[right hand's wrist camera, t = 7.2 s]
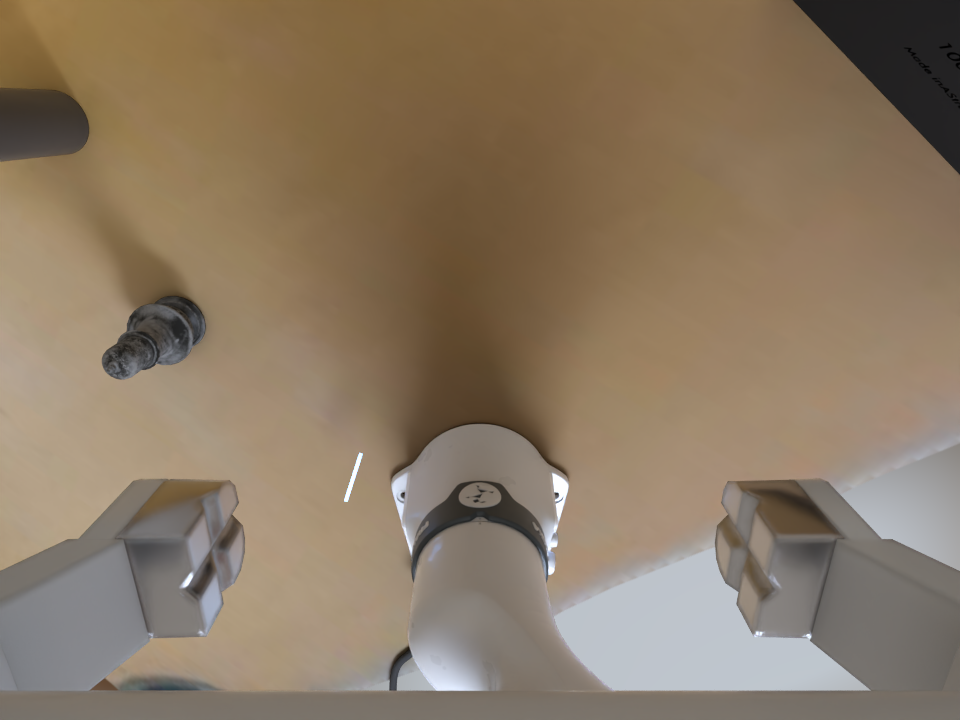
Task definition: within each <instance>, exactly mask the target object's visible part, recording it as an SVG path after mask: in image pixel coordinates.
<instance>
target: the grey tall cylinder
mask: <svg viewBox="0 0 960 720" xmlns="http://www.w3.org/2000/svg"><path fill="white" fill-rule="evenodd" d="M88 134H89V126H88V121H87V118H86V115H85V113H84V111H83V110H82V108H81V107H80V106H79V104H78V103H77V102H76V101H75V100H74V99H72V98H71V97H70V96H68V95H66V94H64V93H62V92H59V91H55V90H38V89H16V88H0V162H1V161H10V160H20V159H29V158H38V157H47V156H56V155H66V154H72V153H75V152H77V151H79V150H80V149H81V148H82V147H83V146H84V145H85V143H86V141H87V139H88Z"/></svg>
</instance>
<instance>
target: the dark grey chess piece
mask: <svg viewBox="0 0 960 720" xmlns="http://www.w3.org/2000/svg"><path fill="white" fill-rule="evenodd" d="M204 333H205V321H204V317H203V315H202V313H201V312H200V310H199V309H198V308H197V307H196V306H195V305H194V304H193V303H192V302H190V301H188V300H186V299H184V298H181V297H177V296H168V297H164V298H161V299H160V300H158V301H157V302H155V304H147V305H144V306H141V307H139V308H138V309H136V310H135V311H134V312H133V313H132V314H131V316H130V317H129V320H128V323H127V332H125V333H124V334H122V335H121V336H120V338H119V339H118V342H117V344H115V345H114V346H112V347H111V348H109V349H108V350H107V351H106V352H105V353H104V355H103V357H102V365H103V368H104V370H105V371H106V372H107V374H109V375H110V376H111V377H114V378H116V379H127V378H131V377H132V376H134V375H135V374H137V373H138V372H139V371H140V370H146V369H150V368H152V367H153V366H155V365H156V364H160V365H172V364H175V363H179V362H180V361H182V360H183V359H185V358H186V357H187V355H188V354H189V353H190V351H191V349H192V347H193V346H194V345H196V344H198V343H199V342H200V340H201V339H202V338H203V336H204Z"/></svg>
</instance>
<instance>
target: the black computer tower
mask: <svg viewBox="0 0 960 720" xmlns="http://www.w3.org/2000/svg"><path fill="white" fill-rule="evenodd" d="M793 1H794V2H795V3H796V4H797V5H798V6H799V7H800V8H801V9H802V10H803V11H804V12H805V13H806V14H807V15H808V16H809V17H810V18H811V19H812V20H813V21H814V23H815V24H816V25H817V26H818V27H819V28H820V29H821V30H822V31H823V32H824V33H825V34H826V35H827V36H828V37H829V38H830V39H831V40H832V41H833V42H834V43H835V44H836V46H837V47H838V48H839V49H840V50H841V51H842V52H843V53H844V54H845V55H846V56H847V57H848V58H849V59H850V60H851V61H852V62H853V63H854V64H855V65H856V66H857V67H858V68H859V70H860V71H861V72H862V73H863V74H864V75H865V76H866V77H867V78H868V79H869V80H870V81H871V82H872V83H873V84H874V85H875V86H876V87H877V88H878V89H879V90H880V91H881V93H882V94H883V95H884V96H885V97H886V98H887V99H888V100H889V101H890V102H891V103H892V104H893V105H894V106H895V107H896V108H897V109H898V110H899V111H900V112H901V113H902V114H903V115H904V117H905V118H906V119H907V120H908V121H909V122H910V123H911V124H912V125H913V126H914V127H915V128H916V129H917V130H918V131H919V132H920V133H921V134H922V135H923V136H924V137H925V138H926V140H927V141H928V142H929V143H930V144H931V145H932V146H933V147H934V148H935V149H936V150H937V151H938V152H939V153H940V154H941V155H942V156H943V157H944V158H945V159H946V160H947V161H948V162H949V164H950V165H951V166H952V167H953V168H954V169H955V170H956V171H957V172H958V173H959V174H960V0H793Z"/></svg>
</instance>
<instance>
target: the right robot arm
mask: <svg viewBox="0 0 960 720" xmlns="http://www.w3.org/2000/svg"><path fill="white" fill-rule="evenodd" d="M361 457H362V453H359V456H358V459H357V462H356V465H355V468H354V472H353V475H352V478H351V481H350V484H349V487H348V491H347V494H346V497H345V500H344V501H346V502H347V501H348V498H349V495H350V492H351V489H352V485H353V482H354V479H355V476H356V473H357V470H358V467H359V464H360V460H361ZM391 489H392V493H393V496H394V499H395V503H396V506H397V510H398V513H399V516H400V520H401V523H402V527H403V530H404V533H405V537H406V540H407V543H408V547H409V550H410V554H411V561H412V566H411V567H412V578H413V582H414V586H413V593H412V601H411V608H410V615H409V623H408V642H409V647H410V650H408V651H407V652H406V653H404V654H403V655H402V656H401V657H400V658H399V659H398V660H397V661H396V663H395V664H394V666H393V668H392V671H391V676H390V689H389V691H89V690H90V689H91V688H93V687H94V686H95V685H96V684H98V683H99V682H100V681H101V680H102V679H104V678H105V677H106V676H107V675H109V674H110V673H111V672H112V671H114V670H115V669H116V668H117V667H119V666H120V665H121V664H122V663H123V662H125V661H126V660H127V659H128V658H130V657H131V656H132V655H133V654H135V653H136V652H137V651H138V650H139V649H141V648H142V647H143V646H144V645H146V644H147V643H148V642H149V641H150V639H149V638H176V637H206V636H207V634H208V632H209V631H210V629H211V627H212V625H213V623H214V621H215V619H216V617H217V615H218V614H219V612H220V610H221V608H222V606H223V598H222V593H221V592H222V591H224V590H225V589H227V588H228V587H230V586H231V585H232V584H234V583H235V581H236V579H237V577H238V575H239V573H240V570H241V567H242V562H243V558H244V553H245V537H244V531H243V525H242V524H241V523H240V522H239V521H238V520H237V519H236V518H235V517H234V516H233V515H232V513H233V512H234V510H235V508H236V507H237V505H238V503H239V502H238V497H237V492H236V488H235V485H234V484H233V483H232V482H231V481H230V480H188V479H170V480H168V479H140V480H136V481H133V482H132V483H131V484H130V485H129V486H128V487H127V488H126V489H125V490H124V491H123V492H122V493H121V494H120V495H119V496H118V498H117V499H116V500H115V501H114V502H113V503H112V504H111V505H110V506H109V507H108V508H107V509H106V510H105V511H104V512H103V513H102V514H101V516H100V517H99V518H98V519H97V520H96V521H95V522H94V523H93V524H92V525H91V526H90V527H89V528H88V529H87V530H86V531H85V532H84V533H83V535H82V536H81V537H80V538H79V539H67V540H65V541H63V542H61V543H59V544H57V545H55V546H53V547H50V548H48V549H46V550H44V551H42V552H40V553H38V554H36V555H33V556H31V557H29V558H27V559H25V560H23V561H21V562H19V563H16V564H14V565H12V566H10V567H8V568H6V569H4V570H2V571H0V720H960V571H958V570H956V569H954V568H952V567H950V566H948V565H946V564H943V563H941V562H939V561H937V560H935V559H933V558H931V557H929V556H926V555H924V554H922V553H920V552H918V551H916V550H914V549H912V548H910V547H907V546H905V545H903V544H901V543H899V542H897V541H895V540H893V539H881V538H880V537H879V536H878V535H877V534H876V532H875V531H874V530H873V529H872V528H871V527H870V526H869V525H868V524H867V523H866V522H865V521H864V520H863V519H862V518H861V517H860V515H859V514H858V513H857V512H856V511H855V510H854V509H853V508H852V507H851V506H850V505H849V504H848V503H847V502H846V501H845V500H844V499H843V497H842V496H841V495H840V494H839V493H838V492H837V491H836V490H835V489H834V488H833V487H832V486H831V485H830V484H829V483H828V482H827V481H824V480H822V479H793V480H766V481H728V482H727V484H726V486H725V488H724V491H723V496H722V501H721V503H722V505H723V507H724V508H725V510H726V512H727V513H728V515H727V516H726V517H725V518H724V519H723V520H722V521H721V522H720V523H719V524H718V525H717V531H716V539H715V548H716V559H717V563H718V567H719V570H720V573H721V575H722V577H723V579H724V581H725V583H726V584H728V585H729V586H730V587H732V588H733V589H735V590H736V591H738V592H739V593H738V598H737V606H738V608H739V610H740V612H741V613H742V615H743V617H744V619H745V621H746V623H747V625H748V627H749V629H750V630H751V632H752V634H753V636H754V637H783V638H811V639H810V641H811V642H812V643H813V644H815V645H816V646H817V647H818V648H820V649H821V650H822V651H823V652H825V653H826V654H827V655H828V656H829V657H831V658H832V659H833V660H834V661H836V662H837V663H838V664H839V665H841V666H842V667H843V668H844V669H845V670H847V671H848V672H849V673H850V674H852V675H853V676H854V677H855V678H857V679H858V680H859V681H860V682H861V683H863V684H864V685H865V686H866V687H868V688H869V689H870V690H871V691H614V690H613V689H612V688H610V687H609V686H607V685H606V684H605V683H604V682H603V681H601V680H600V679H599V678H598V677H597V676H595V675H594V674H593V673H592V672H591V671H590V670H589V669H588V668H587V667H586V666H585V665H584V664H583V663H582V662H581V661H580V659H579V658H578V657H577V656H576V655H575V654H574V653H573V651H572V650H571V649H570V648H569V646H568V645H567V644H566V642H565V641H564V639H563V638H562V636H561V634H560V632H559V630H558V628H557V626H556V623H555V619H554V616H553V612H552V608H551V604H550V600H549V595H548V590H547V585H546V582H547V578H548V575H551V574H553V572H554V568H555V553H553V552H551V551H550V550H551V547H556V546H557V543H558V534H557V533H556V530H557V527H558V523H559V520H560V516H561V513H562V510H563V506H564V503H565V500H566V496H567V493H568V489H569V481H568V478H567V476H566V475H565V474H563V473H562V472H561V471H559V470H558V469H556V468H554V467H552V466H551V465H549V464H548V463H547V462H546V461H545V460H544V459H543V458H542V456H541V455H540V454H539V452H538V451H537V449H536V448H535V447H534V446H533V445H532V444H531V443H530V442H529V441H528V440H527V439H525V438H524V437H523V436H521V435H519V434H518V433H516V432H514V431H512V430H509V429H507V428H504V427H501V426H496V425H491V424H469V425H464V426H459V427H456V428H453V429H451V430H448V431H446V432H444V433H442V434H441V435H439V436H437V437H436V438H435V439H433V440H432V441H431V442H430V443H429V444H428V445H427V446H426V447H425V448H424V450H423V451H422V452H421V454H420V455H419V456H418V458H417V459H416V460H415V462H413V463H412V464H411V465H409V466H408V467H406V468H404V469H402V470H401V471H399V472H398V473H397V474H395V475H394V476H393V478H392V481H391ZM403 492H405V495H403V494H402V493H403ZM555 492H557V493H558V494H557V495H555ZM412 657H413V658H414V660H415V662H416V664H417V665H418V667H419V669H420V670H421V672H422V673H423V675H424V676H425V677H426V679H427V680H428V682H429V683H430V684H431V685H432V686H433V687H434V688H435V689H436V690H437V691H397V690H396V689H397V677H398V672H399V670H400V668H401V666H402V665H403V664H404V663H405V662H406V661H407V660H409V659H410V658H412Z"/></svg>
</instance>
